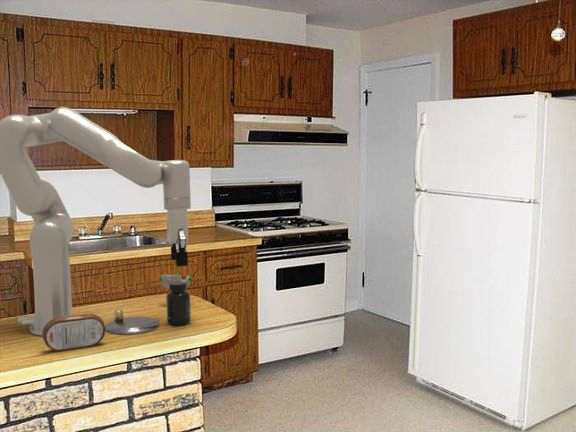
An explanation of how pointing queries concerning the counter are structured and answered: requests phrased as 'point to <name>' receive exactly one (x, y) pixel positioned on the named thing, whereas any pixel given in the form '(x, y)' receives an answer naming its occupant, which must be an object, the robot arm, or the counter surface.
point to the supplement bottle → (178, 304)
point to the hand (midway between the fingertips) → (179, 262)
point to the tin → (73, 332)
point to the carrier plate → (130, 324)
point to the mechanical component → (173, 279)
